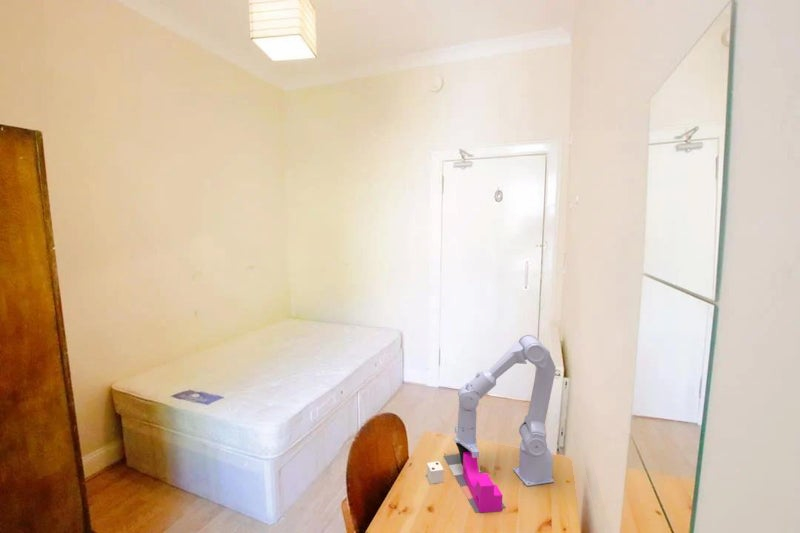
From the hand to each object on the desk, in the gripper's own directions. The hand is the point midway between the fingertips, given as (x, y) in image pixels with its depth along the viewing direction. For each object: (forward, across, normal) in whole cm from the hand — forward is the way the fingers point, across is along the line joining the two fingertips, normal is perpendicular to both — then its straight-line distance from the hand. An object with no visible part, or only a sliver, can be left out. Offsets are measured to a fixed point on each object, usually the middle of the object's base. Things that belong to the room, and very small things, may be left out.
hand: (465, 465), depth 110 cm
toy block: (+2, +10, 0) cm, 10 cm away
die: (+1, +2, -11) cm, 11 cm away
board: (+1, +4, 0) cm, 5 cm away
